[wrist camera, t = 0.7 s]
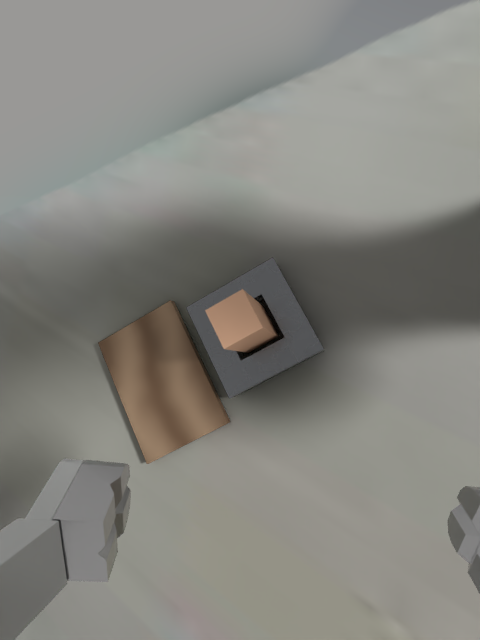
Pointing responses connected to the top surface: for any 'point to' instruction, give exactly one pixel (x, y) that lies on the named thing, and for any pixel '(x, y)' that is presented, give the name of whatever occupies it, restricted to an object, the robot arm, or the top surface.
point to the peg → (241, 323)
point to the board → (162, 382)
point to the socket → (275, 357)
